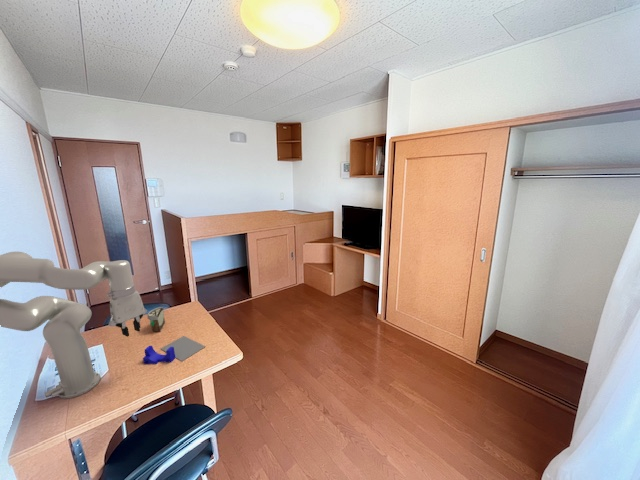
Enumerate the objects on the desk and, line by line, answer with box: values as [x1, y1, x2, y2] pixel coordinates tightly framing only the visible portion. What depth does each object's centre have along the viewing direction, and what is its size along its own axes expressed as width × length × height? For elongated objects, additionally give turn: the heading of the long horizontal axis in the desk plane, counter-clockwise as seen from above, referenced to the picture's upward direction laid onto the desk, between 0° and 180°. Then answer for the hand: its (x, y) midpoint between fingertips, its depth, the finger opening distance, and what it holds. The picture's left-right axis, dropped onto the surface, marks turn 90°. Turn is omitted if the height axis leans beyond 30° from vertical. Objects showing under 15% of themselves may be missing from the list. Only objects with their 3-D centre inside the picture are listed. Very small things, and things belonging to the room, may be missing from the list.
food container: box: [147, 306, 166, 333], centre depth 142 cm, size 12×6×10 cm, turn 17°
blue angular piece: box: [142, 345, 176, 365], centre depth 117 cm, size 12×4×6 cm, turn 85°
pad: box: [159, 335, 206, 362], centre depth 126 cm, size 12×18×1 cm, turn 59°
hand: (132, 332), depth 106 cm, fingers open, 3 cm apart
